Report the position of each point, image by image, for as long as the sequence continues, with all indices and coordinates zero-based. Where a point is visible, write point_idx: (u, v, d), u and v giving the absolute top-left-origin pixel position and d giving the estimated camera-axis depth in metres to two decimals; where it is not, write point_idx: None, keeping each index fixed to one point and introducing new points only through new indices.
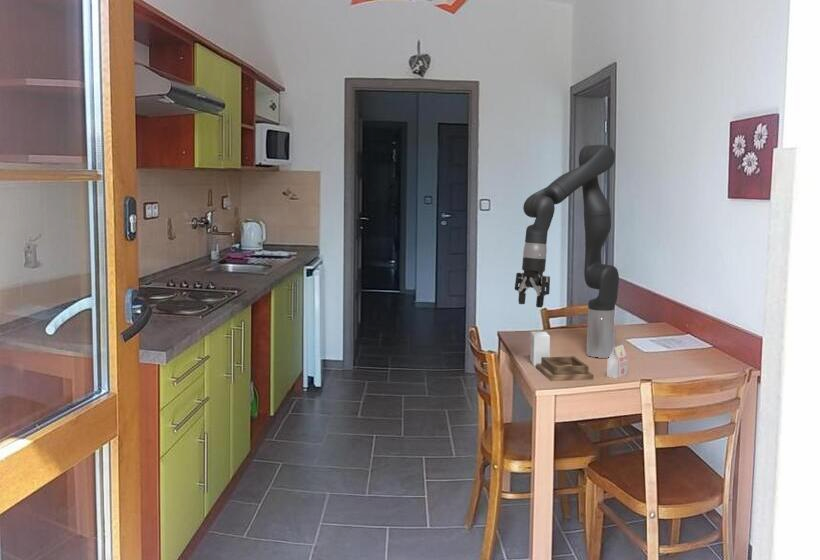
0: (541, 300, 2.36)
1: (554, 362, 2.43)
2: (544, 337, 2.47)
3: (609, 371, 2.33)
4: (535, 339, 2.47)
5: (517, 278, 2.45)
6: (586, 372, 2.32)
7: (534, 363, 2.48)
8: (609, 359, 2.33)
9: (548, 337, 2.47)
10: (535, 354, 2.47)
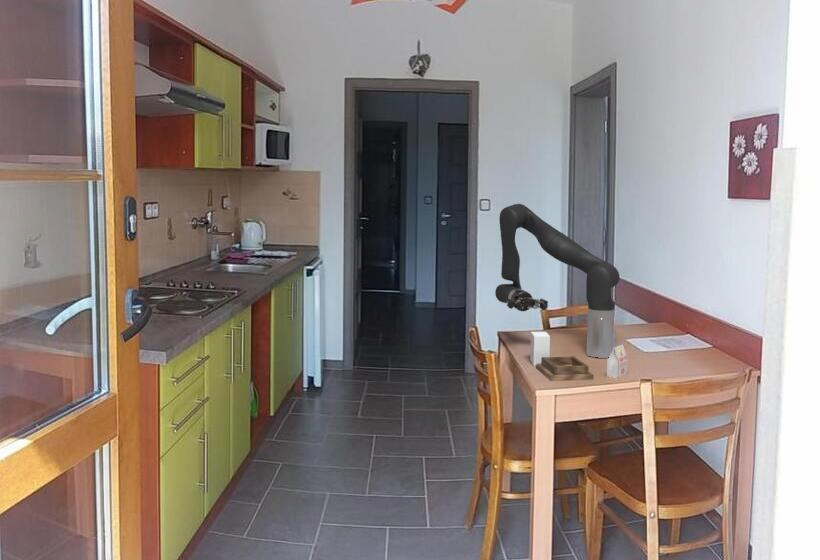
0: (516, 306, 2.61)
1: (554, 362, 2.43)
2: (544, 337, 2.47)
3: (609, 371, 2.33)
4: (535, 339, 2.47)
5: None
6: (586, 372, 2.32)
7: (534, 363, 2.48)
8: (609, 359, 2.33)
9: (548, 337, 2.47)
10: (535, 354, 2.47)
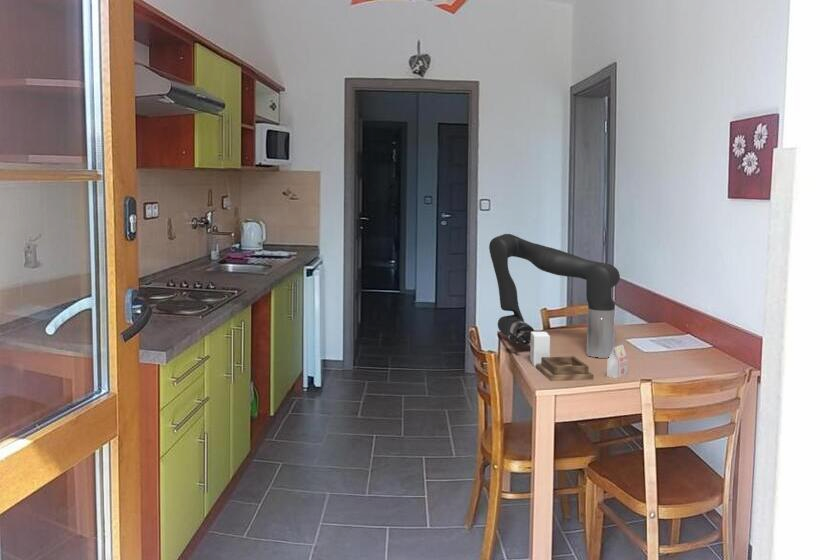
0: (517, 341, 2.60)
1: (554, 362, 2.43)
2: (544, 337, 2.47)
3: (609, 371, 2.33)
4: (535, 339, 2.47)
5: None
6: (586, 372, 2.32)
7: (534, 363, 2.48)
8: (609, 359, 2.33)
9: (548, 337, 2.47)
10: (535, 354, 2.47)
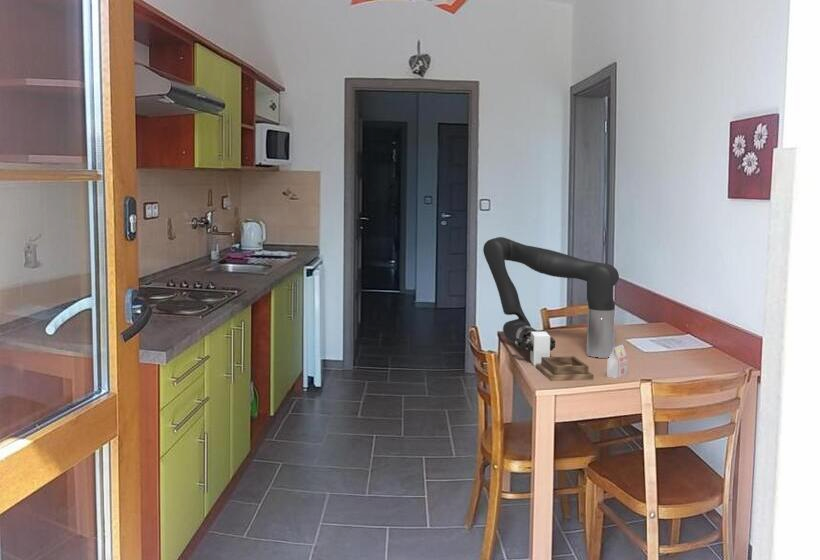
0: (527, 347, 2.50)
1: (554, 362, 2.43)
2: (544, 337, 2.47)
3: (609, 371, 2.33)
4: (535, 339, 2.47)
5: None
6: (586, 372, 2.32)
7: (534, 363, 2.48)
8: (609, 359, 2.33)
9: (548, 337, 2.47)
10: (535, 354, 2.47)
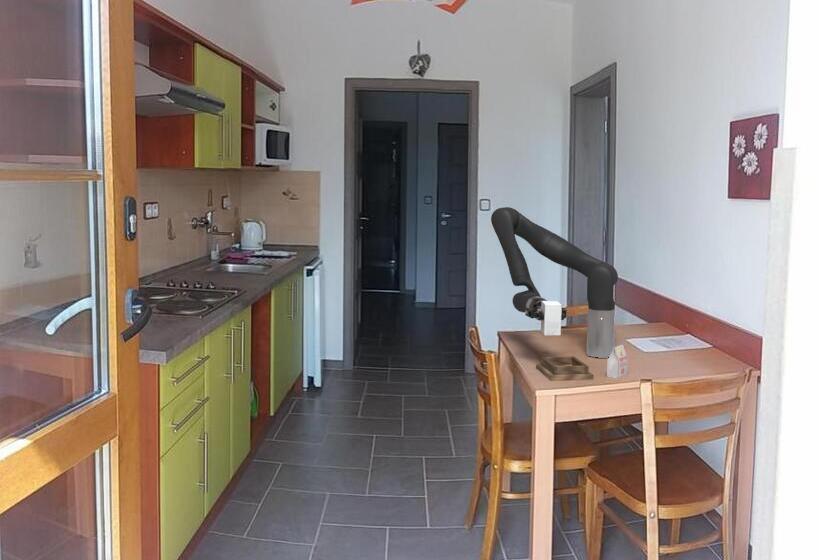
0: (538, 316, 2.43)
1: (554, 362, 2.43)
2: (555, 306, 2.39)
3: (609, 371, 2.33)
4: (546, 308, 2.39)
5: None
6: (586, 372, 2.32)
7: (545, 332, 2.41)
8: (609, 359, 2.33)
9: (559, 306, 2.39)
10: (546, 323, 2.40)
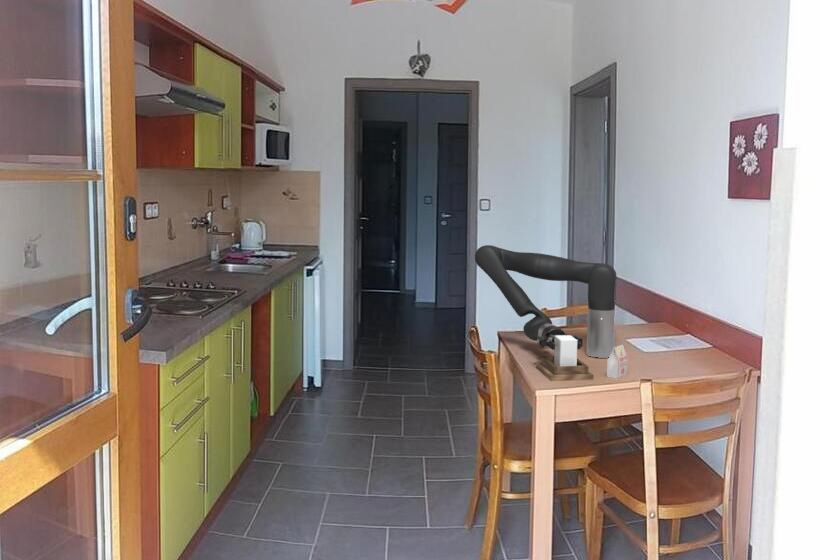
0: (548, 345, 2.37)
1: None
2: (571, 341, 2.33)
3: (609, 371, 2.33)
4: (562, 343, 2.33)
5: None
6: (586, 372, 2.32)
7: None
8: (609, 359, 2.33)
9: (575, 341, 2.33)
10: (562, 359, 2.34)
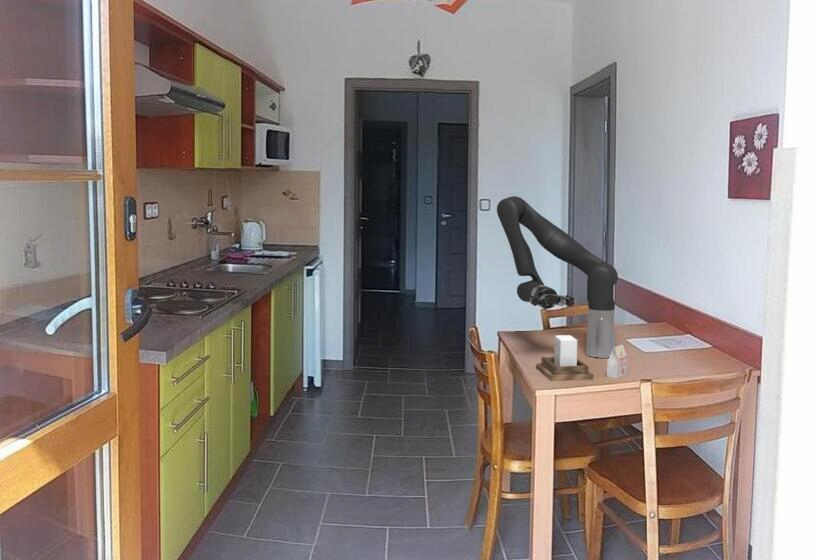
0: (540, 303, 2.45)
1: None
2: (571, 341, 2.33)
3: (609, 371, 2.33)
4: (562, 343, 2.33)
5: None
6: (586, 372, 2.32)
7: None
8: (609, 359, 2.33)
9: (575, 341, 2.33)
10: (562, 359, 2.34)
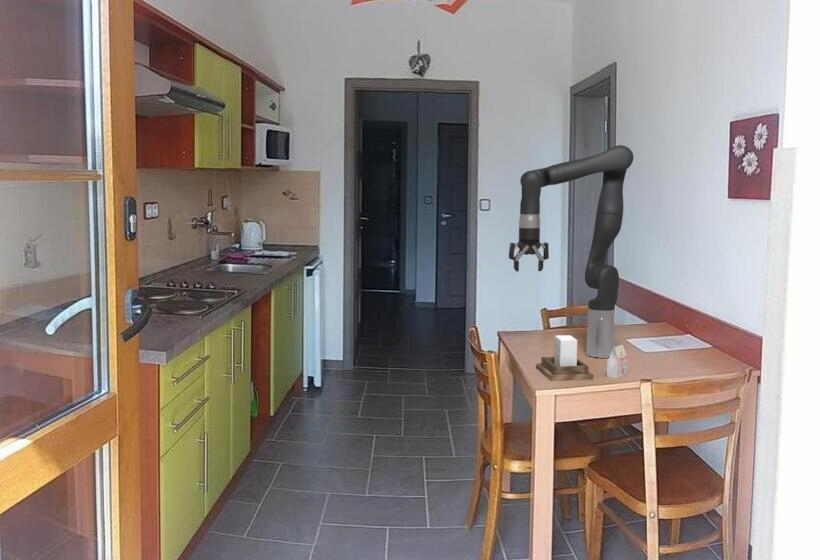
0: None
1: None
2: (571, 341, 2.33)
3: (609, 371, 2.33)
4: (562, 343, 2.33)
5: (513, 248, 2.61)
6: (586, 372, 2.32)
7: None
8: (609, 359, 2.33)
9: (575, 341, 2.33)
10: (562, 359, 2.34)
